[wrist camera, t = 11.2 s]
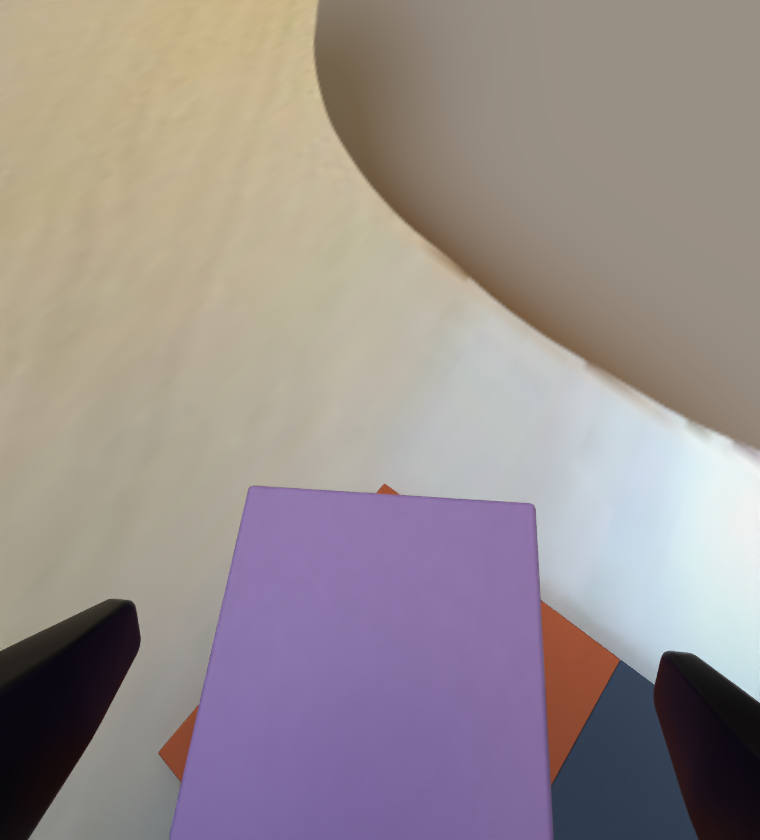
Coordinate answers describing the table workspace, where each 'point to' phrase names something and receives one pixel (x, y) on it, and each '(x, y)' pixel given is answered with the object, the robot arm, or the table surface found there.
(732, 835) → the robot arm
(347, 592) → the block
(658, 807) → the mat
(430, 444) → the table surface
